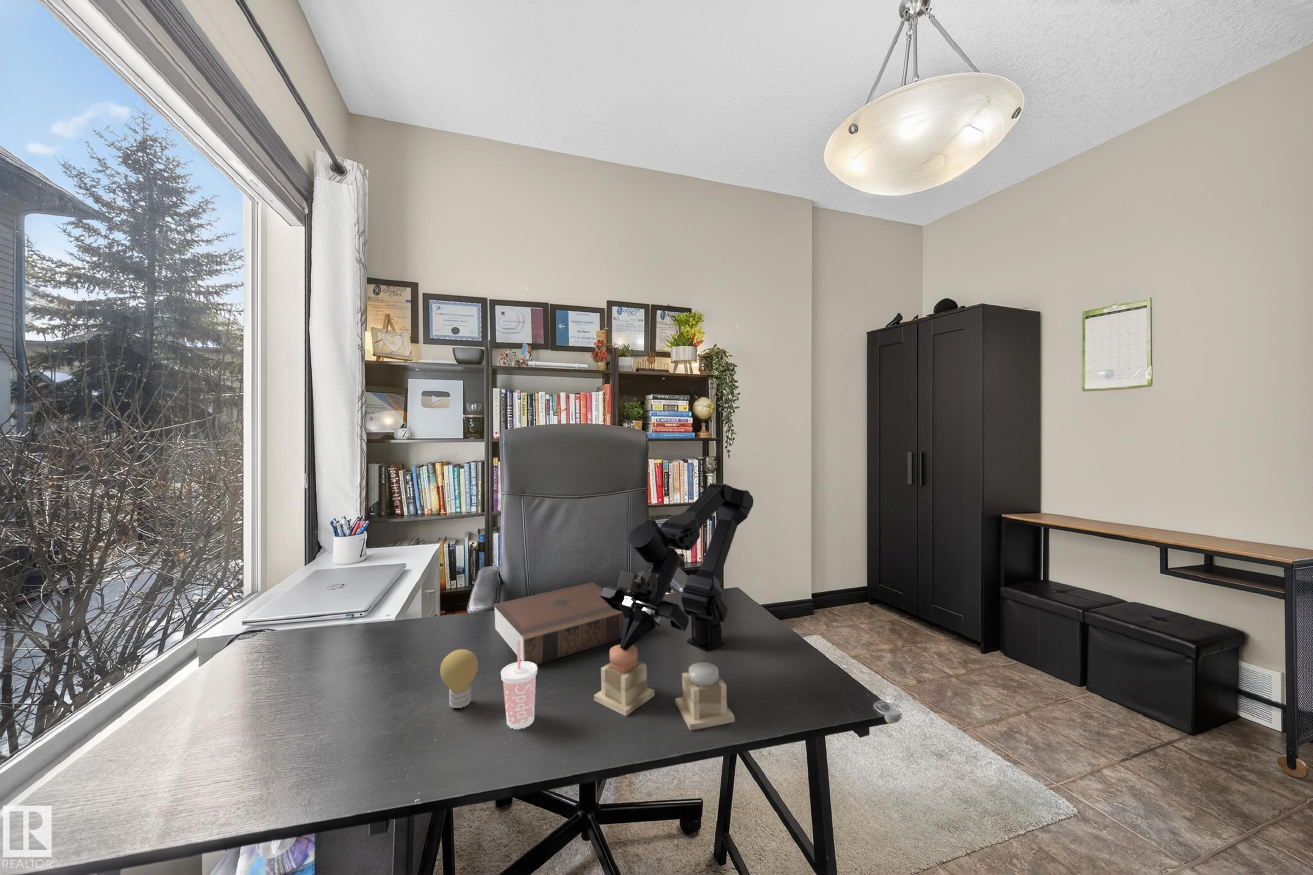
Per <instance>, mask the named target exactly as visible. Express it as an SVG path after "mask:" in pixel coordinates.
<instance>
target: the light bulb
mask: <svg viewBox="0 0 1313 875" xmlns="http://www.w3.org/2000/svg"><path fill="white" fill-rule="evenodd" d="M478 669H479V660H478V657H477V656H476V654H475V653H474V652H472V650H471V651H470V650H468V649H456V650H453V651H451V652H450V653H449V654H447V655H446V656H445V657H444V658H443V659H442V662H441V664H440V669H439V674H440V675H439V676H440V678H441V680H442V682H443V683H444V684H445V685H446V687H448V688H449V690H448V695H449V696H448V700H449V703H448V704H449V707H451V708H452V709H454V708H461V709H463V708H462V707H464V708H466V707H467V706H468V705H470V703H472V686H471V685H470V684H471V683H472V682H473V680H474V678H475V677H476V675H477V672H478ZM465 706H466V707H465Z"/></svg>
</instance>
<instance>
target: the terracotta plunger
mask: <svg viewBox="0 0 1313 875" xmlns="http://www.w3.org/2000/svg"><path fill="white" fill-rule="evenodd" d="M638 653H639V652H638V648H637V646H636V645H635V644H633V645H632V646H631V647H630V648H628V649H627V650H626V651H625V650H622V649H621V648H620V644H616V645H614V646H612V647H610V649H609V663H611V669H614V670H616V671H618V672H621V673H623V674H626V673H627V672H629V671H630V670H632V669H634V668H635V667H637V661H639V660H638V658H639V656H638V655H639V654H638Z"/></svg>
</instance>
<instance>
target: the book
mask: <svg viewBox="0 0 1313 875" xmlns="http://www.w3.org/2000/svg"><path fill="white" fill-rule="evenodd" d="M603 589H604V587H601V586H599V585H598V584H596V583H595V582H593V581H591V582H587V583H583V584H578V585H573V586H570V587H564V588H560V589H555V590H550V591H546V592H542V593H538V594H537V593H536V594H534V595H530V596H529V595H528V596H524V597H519V598H516V599H515V598H514V599H511V600H507V601H502V602H498V603H493V604H492V606H493V607H494V628H495V630H496V632H498V634H499V635H500V636H501V637H502V639H503V640H504V641H505V643H506V644H507V645H508V646H509V647H510V648H511V649H512V651H513V652H514V653H515V654H516V655H517V641H520V661H528V662H533V663H534V664H536V665H538V664H539V665H540V664H542V663H546V662H548V661H552V660H555V659H559V658H561V657H565V656H569V655H571V654H574V653H577V652H581V651H585V650H588V649H591V648H594V647H598V646H602V645H604V644H608V643H612V642H614V641H617V640H621V637H622V630H623V620H624V616H623V612H621V611H617V610H615V609H613V608H612V607H611V606H610V605H608V604H607V603H606V602H605V601H604V600H603V599H602V598H601V597H600V594H601V593H602V591H603Z"/></svg>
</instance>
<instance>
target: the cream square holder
mask: <svg viewBox="0 0 1313 875" xmlns="http://www.w3.org/2000/svg"><path fill="white" fill-rule="evenodd" d="M647 670H648V666H647V664H646V663H643V662H641V661H639V660H637V667H635V668H634V669H632V670H630V671H629V672H627V673H626V674H623V673H621V672H618V671H616V670H614V669H611V662H609V663H607V664H605V665H604V666H602V667H600V683H601V690H599V691H598V692H597V693H595V694H594V695H593V701H594V702H596V703H598V704H600V705H602V706H604V707H607V708H609V709H610V710H613V711H615V712H617V713H619V714H620V715H623V716H624V717H627V716H628V715H630V714H631V713H633V712H634V711H635V710H636V709H639V707H641V706H642V705H644V704H645V703H646V702H648V701H649V700H650V699H652V698H653V697H655V695H656V694H655V693H656V692H655V689H653V688H651V687H648V677H647V676H648V671H647Z"/></svg>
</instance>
